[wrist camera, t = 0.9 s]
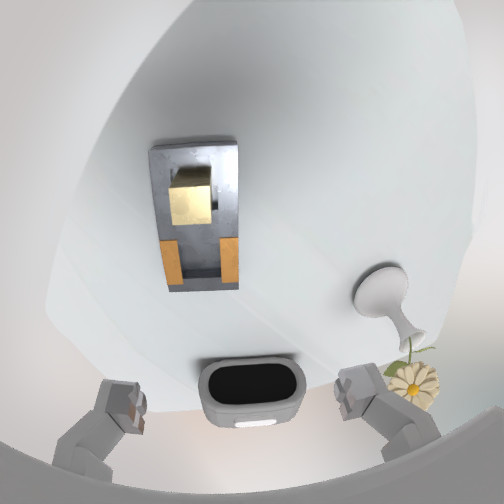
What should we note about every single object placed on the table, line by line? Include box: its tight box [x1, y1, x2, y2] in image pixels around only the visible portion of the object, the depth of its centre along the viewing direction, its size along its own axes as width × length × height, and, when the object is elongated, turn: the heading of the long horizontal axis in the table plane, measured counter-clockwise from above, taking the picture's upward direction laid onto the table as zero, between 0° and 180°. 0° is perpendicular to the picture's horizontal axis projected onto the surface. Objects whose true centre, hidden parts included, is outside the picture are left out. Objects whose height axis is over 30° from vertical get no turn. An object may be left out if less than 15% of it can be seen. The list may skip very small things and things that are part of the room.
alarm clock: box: [198, 356, 306, 428], centre depth 50 cm, size 21×10×13 cm, turn 88°
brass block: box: [168, 168, 213, 225], centre depth 29 cm, size 4×4×7 cm
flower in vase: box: [354, 267, 440, 411], centre depth 36 cm, size 13×11×25 cm
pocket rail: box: [148, 141, 239, 292], centre depth 34 cm, size 20×10×3 cm, turn 179°
